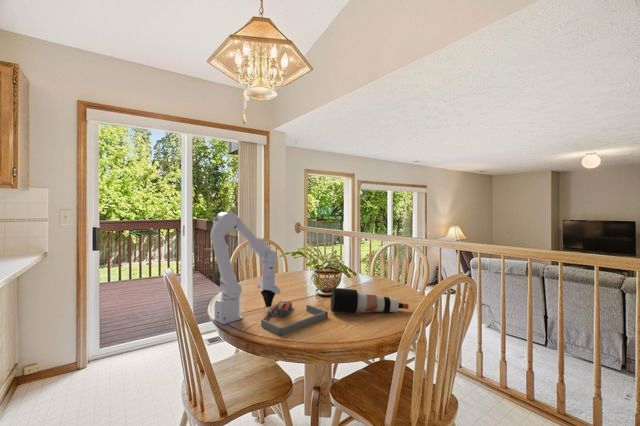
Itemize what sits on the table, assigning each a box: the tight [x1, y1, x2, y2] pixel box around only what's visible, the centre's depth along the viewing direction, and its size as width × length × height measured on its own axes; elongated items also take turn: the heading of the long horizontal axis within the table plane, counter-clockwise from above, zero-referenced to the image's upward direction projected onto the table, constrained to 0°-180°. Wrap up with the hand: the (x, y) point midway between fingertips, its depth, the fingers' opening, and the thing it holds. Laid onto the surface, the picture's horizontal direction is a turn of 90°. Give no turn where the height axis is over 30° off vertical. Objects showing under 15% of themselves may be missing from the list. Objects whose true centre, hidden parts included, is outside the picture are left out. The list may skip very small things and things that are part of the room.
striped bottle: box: [330, 287, 410, 314], centre depth 131 cm, size 10×34×10 cm, turn 94°
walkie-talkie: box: [263, 300, 293, 321], centre depth 128 cm, size 9×4×20 cm
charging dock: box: [260, 304, 328, 337], centre depth 120 cm, size 25×12×2 cm, turn 136°
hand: (268, 306), depth 133 cm, fingers closed
